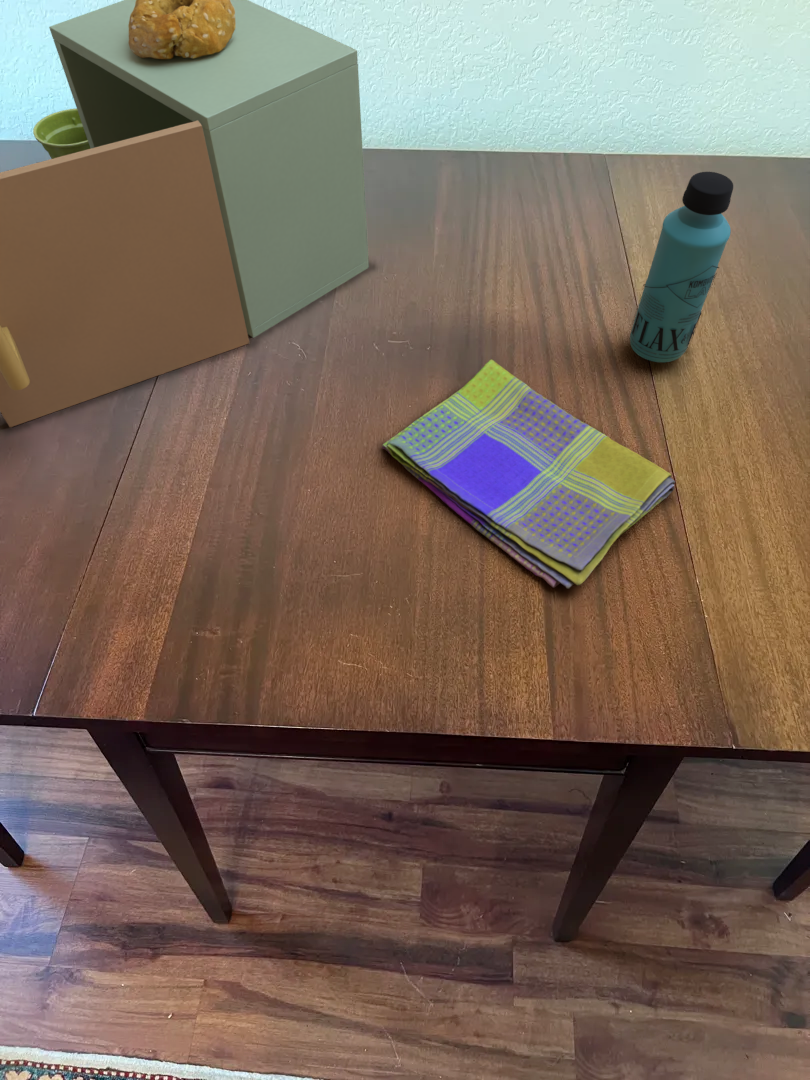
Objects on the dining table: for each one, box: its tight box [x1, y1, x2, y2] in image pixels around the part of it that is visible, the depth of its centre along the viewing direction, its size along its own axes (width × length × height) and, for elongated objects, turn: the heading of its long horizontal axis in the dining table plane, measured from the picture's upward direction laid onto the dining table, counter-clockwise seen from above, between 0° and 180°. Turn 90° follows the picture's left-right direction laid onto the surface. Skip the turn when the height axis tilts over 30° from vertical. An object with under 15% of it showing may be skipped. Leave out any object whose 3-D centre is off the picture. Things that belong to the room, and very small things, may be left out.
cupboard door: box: [0, 121, 250, 428], centre depth 72 cm, size 8×26×24 cm, turn 119°
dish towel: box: [381, 359, 676, 589], centre depth 75 cm, size 18×24×3 cm
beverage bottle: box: [628, 171, 734, 363], centre depth 78 cm, size 6×7×20 cm
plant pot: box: [32, 107, 91, 159], centre depth 102 cm, size 9×9×9 cm
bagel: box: [128, 0, 236, 59], centre depth 74 cm, size 10×11×5 cm
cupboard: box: [48, 0, 370, 339], centre depth 87 cm, size 18×26×24 cm
